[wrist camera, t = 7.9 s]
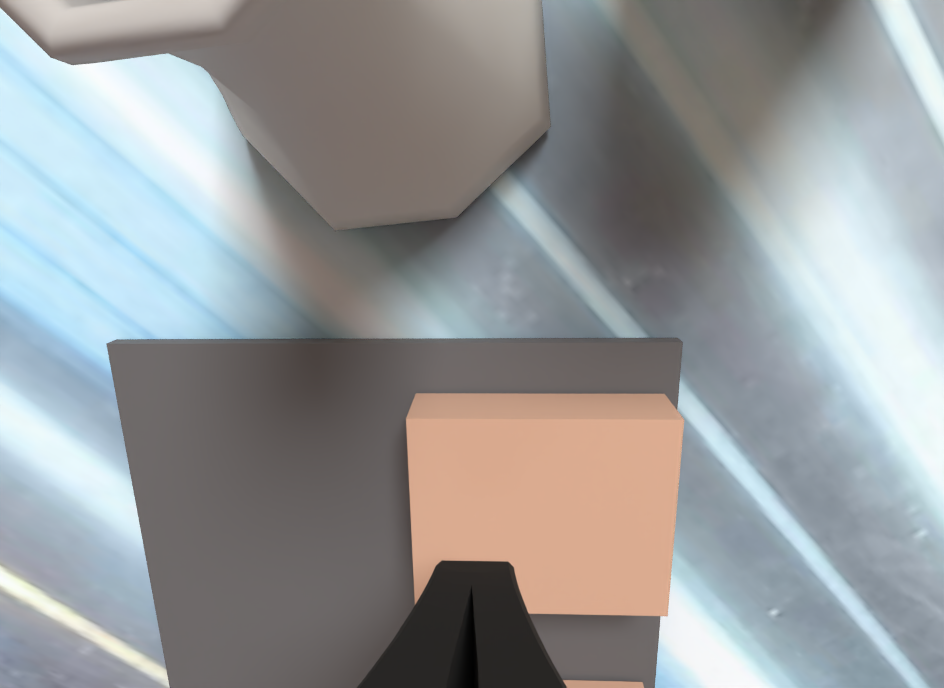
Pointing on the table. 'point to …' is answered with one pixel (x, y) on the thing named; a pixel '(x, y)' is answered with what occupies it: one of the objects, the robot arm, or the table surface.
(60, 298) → the table surface
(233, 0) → the flask
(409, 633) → the robot arm
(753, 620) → the table surface
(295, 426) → the mat
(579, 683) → the tile
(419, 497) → the tile
